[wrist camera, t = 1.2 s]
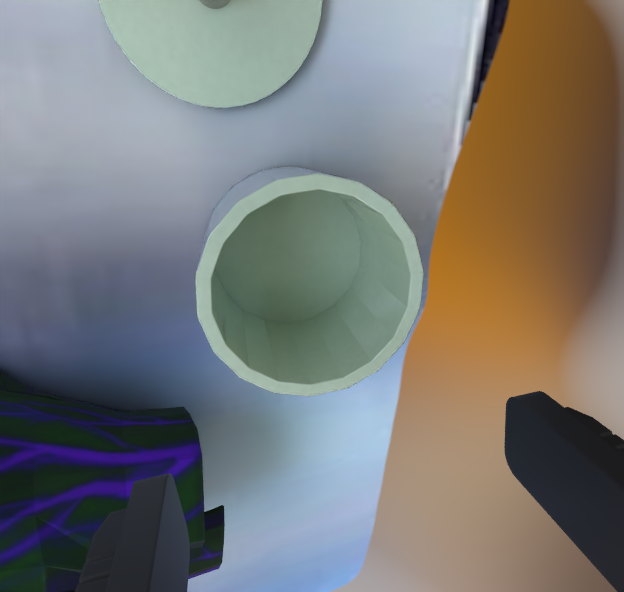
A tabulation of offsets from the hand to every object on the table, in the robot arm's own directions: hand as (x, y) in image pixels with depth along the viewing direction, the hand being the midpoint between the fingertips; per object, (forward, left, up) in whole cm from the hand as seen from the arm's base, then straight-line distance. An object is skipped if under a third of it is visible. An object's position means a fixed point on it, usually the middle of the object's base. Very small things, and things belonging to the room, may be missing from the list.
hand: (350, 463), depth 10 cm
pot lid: (-16, +6, -24) cm, 29 cm away
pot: (+1, +2, -25) cm, 25 cm away
